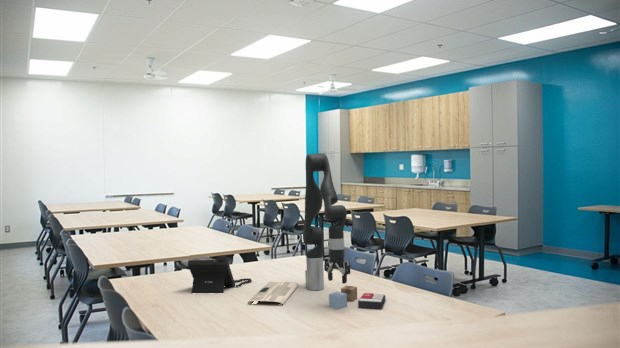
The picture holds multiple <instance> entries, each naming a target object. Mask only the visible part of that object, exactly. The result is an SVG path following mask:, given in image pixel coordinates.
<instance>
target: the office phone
mask: <svg viewBox="0 0 620 348" xmlns="http://www.w3.org/2000/svg"><path fill="white" fill-rule="evenodd" d="M187 267H188V269H189V271H190V274H191V276H192V288H191V294H192V293H225V287H224V286H233V287H232V288H239V287H238V286H240V287H242V286H243V285H246V284H245V283H247V284H250V283H251V282H252V281H253V279H252V278H240V279H236V280H235V279H234V276H233V273H232V272H233V271H232V270H231V266H230V263H229V260H228V257H227V256H225V255H219V256H218V257H216V259H192V260H190V259H189V260H188V262H187ZM242 280H248V281H242ZM240 281H241V282H240ZM235 282H237V283H238V284H236V283H235ZM249 282H250V283H249ZM242 284H243V285H242ZM241 285H242V286H241ZM235 286H236V287H235Z"/></svg>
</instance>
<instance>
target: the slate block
mask: <svg viewBox="0 0 620 348" xmlns="http://www.w3.org/2000/svg"><path fill="white" fill-rule="evenodd" d="M328 307H329V308H333V309H336V310H340V309H344V308H346V307H348V301H347V294H345V293H341V291H335V292H332V293H329V294H328Z"/></svg>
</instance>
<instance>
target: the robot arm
mask: <svg viewBox="0 0 620 348" xmlns="http://www.w3.org/2000/svg"><path fill="white" fill-rule="evenodd" d="M314 172H315V173H316V172H323V178H322V182H321V184H320V188H319V186H318V184H317V182H316V181H315V177H314ZM338 200H339V197H338V194H337V191H336V189H335V186H334V183H333V177H332V172H331V167H330V163H329V158H328V156H327V154H325V153H321V152H320V153H309V154H307V155H306V157H305V195H304V222H303V229H302V241H303V244H304V245H307V246H310V245H315V246H314V247H312V249H309V250H308V251H306V253H305V257H306V258H305V261H306V265H305V266H306V270H304V271H305V273H304V274H305V276H304V277H305V288H306V289H307V290H309V291H321V290H324V288H325V279H324V278H325V274H324V271H325V272H326V273H327V279H328V281H329V282H330V281H333V279H334V278H333V271H334V270H337V271H339V272H340V273H341V282H342V284H343V285H344V284H347V282H348V275H350V274H351V263H350V260H348V261H345V257H346V255H345V252H346V251H345V237H344V236H345V235H344V228H345V224H346V219H347V214H348V212H347V208H346V207H345V206H344V205H343V204H337V203H338ZM335 204H337V205H335ZM322 207H323V210H324V212H323V213H324V217H325V219H326V220H327V221H330V222H331V221H336V223H334V224H332V225H330V226H329V227H328V241H327V242H328V245H327V246H328V257H326V258H324V230H323V228H322V227H320V226H316V227H312V224H313V221H314V220H315V218H316V217H317V216H318V214H319V213H320V211H321V210H322Z"/></svg>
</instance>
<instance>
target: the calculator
mask: <svg viewBox="0 0 620 348" xmlns="http://www.w3.org/2000/svg"><path fill="white" fill-rule="evenodd" d="M385 303H386V295H385V294H384V293H369V292H364V293H363V294H362V295H361V296H360V298H359V300H358V301H357V308H358V309H361V310H376V311H377V310H378V311H382V310H383V307H384V305H385Z"/></svg>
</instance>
